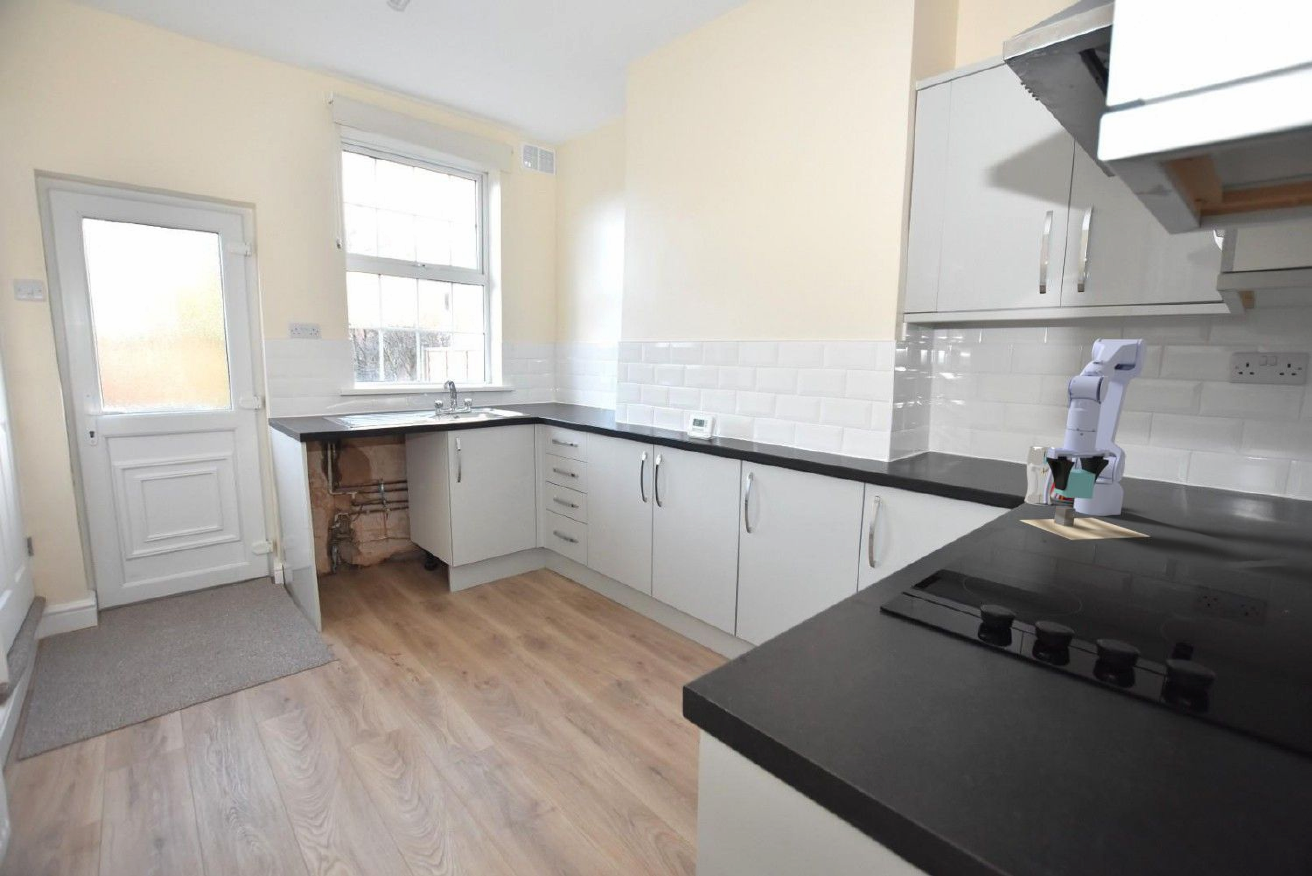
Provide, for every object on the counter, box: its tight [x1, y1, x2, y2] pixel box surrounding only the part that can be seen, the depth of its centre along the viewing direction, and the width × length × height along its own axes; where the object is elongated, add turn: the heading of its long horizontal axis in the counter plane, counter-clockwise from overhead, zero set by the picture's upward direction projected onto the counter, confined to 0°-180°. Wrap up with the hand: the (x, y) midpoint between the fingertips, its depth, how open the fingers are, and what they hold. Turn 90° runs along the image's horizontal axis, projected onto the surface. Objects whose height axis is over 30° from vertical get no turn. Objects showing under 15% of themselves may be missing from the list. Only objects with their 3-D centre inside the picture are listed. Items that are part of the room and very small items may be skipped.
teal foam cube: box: [1055, 469, 1095, 499], centre depth 132 cm, size 5×5×6 cm
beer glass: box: [1024, 445, 1054, 507], centre depth 156 cm, size 7×7×15 cm
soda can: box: [1051, 458, 1075, 504], centre depth 160 cm, size 6×6×12 cm
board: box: [1019, 505, 1151, 541], centre depth 131 cm, size 20×14×5 cm
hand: (1073, 489), depth 132 cm, fingers closed on teal foam cube, 7 cm apart
